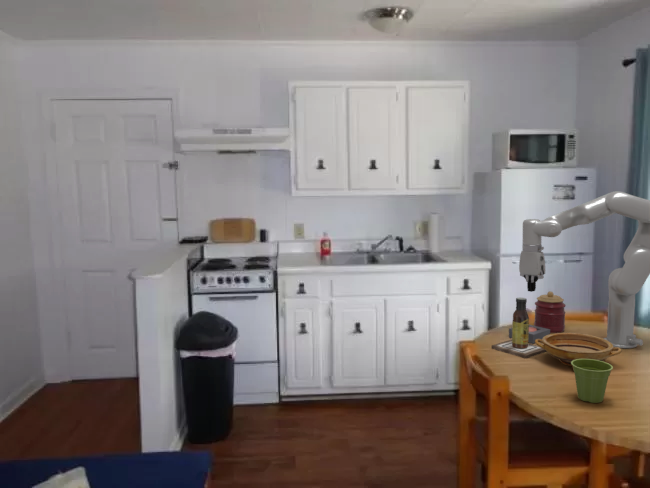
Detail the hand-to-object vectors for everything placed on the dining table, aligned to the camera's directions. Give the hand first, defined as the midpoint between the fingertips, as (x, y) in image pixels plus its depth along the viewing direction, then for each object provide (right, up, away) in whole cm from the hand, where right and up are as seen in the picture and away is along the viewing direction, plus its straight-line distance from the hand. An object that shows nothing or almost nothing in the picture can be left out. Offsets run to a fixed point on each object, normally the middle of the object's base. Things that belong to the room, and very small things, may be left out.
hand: (531, 290), depth 235 cm
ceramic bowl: (+6, -25, -28) cm, 38 cm away
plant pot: (-4, -29, -61) cm, 68 cm away
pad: (-10, -23, -13) cm, 28 cm away
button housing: (0, -21, +3) cm, 21 cm away
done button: (0, -19, +3) cm, 20 cm away
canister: (+14, -19, +15) cm, 28 cm away
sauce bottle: (-10, -22, -13) cm, 27 cm away
